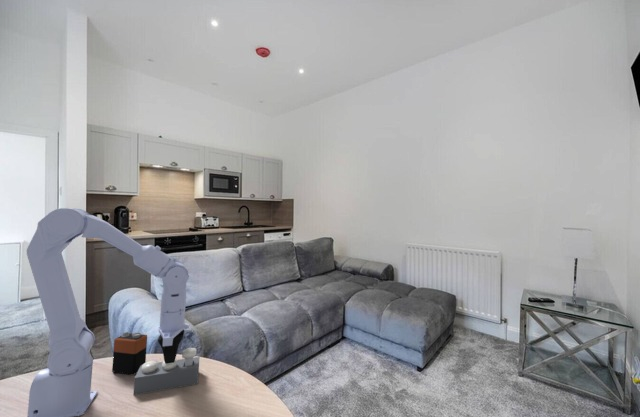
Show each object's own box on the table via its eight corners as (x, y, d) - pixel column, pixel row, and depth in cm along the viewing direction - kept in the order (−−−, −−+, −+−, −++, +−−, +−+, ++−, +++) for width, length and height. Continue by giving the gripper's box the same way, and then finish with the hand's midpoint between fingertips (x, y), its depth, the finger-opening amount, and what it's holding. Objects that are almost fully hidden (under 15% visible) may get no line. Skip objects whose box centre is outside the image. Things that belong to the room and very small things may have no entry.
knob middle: (159, 387, 67) (161, 366, 67) (162, 379, 70) (163, 359, 70) (175, 384, 68) (176, 364, 68) (176, 377, 71) (178, 357, 72)
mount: (133, 395, 64) (134, 377, 64) (139, 380, 69) (140, 364, 70) (197, 383, 69) (198, 368, 69) (198, 371, 75) (199, 356, 75)
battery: (133, 375, 71) (136, 337, 72) (110, 373, 72) (113, 335, 73) (146, 367, 76) (148, 331, 76) (124, 364, 77) (127, 329, 77)
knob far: (180, 375, 69) (181, 354, 69) (181, 368, 72) (183, 348, 72) (194, 373, 70) (196, 352, 70) (195, 366, 73) (196, 346, 73)
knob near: (138, 390, 65) (140, 369, 66) (142, 382, 68) (143, 362, 69) (154, 388, 67) (156, 366, 67) (157, 380, 70) (158, 360, 70)
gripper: (187, 317, 65) (184, 374, 64) (192, 299, 78) (189, 346, 78) (154, 320, 62) (150, 380, 62) (164, 301, 76) (161, 350, 75)
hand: (170, 361), depth 69 cm, fingers closed, pressing on knob middle
